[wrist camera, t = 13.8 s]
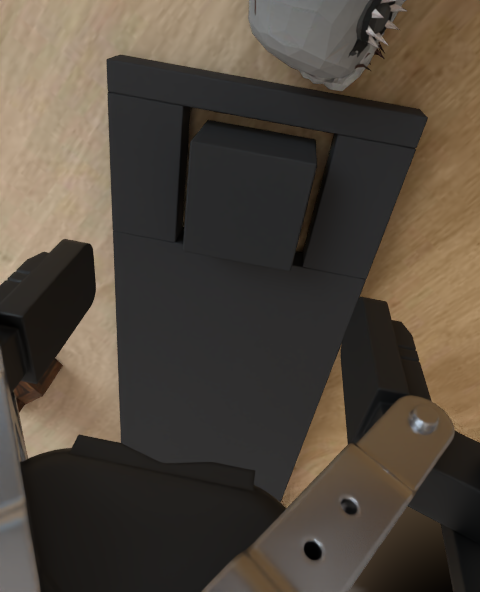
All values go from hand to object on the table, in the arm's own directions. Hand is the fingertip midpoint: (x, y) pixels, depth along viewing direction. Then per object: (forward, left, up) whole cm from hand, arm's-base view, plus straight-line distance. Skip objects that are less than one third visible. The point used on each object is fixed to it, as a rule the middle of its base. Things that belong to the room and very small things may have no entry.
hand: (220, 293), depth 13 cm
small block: (0, 0, -10) cm, 10 cm away
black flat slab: (+13, 0, -10) cm, 16 cm away
